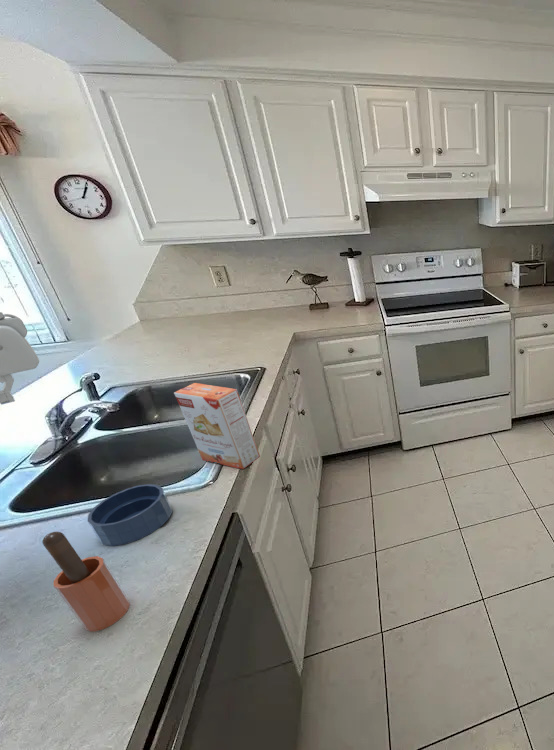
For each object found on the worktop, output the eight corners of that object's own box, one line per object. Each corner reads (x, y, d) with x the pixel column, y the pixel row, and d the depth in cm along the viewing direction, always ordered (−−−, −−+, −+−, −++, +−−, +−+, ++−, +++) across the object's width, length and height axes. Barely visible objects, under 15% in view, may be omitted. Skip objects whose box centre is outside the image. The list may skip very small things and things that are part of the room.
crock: (78, 639, 66) (44, 593, 61) (96, 607, 71) (66, 562, 66) (122, 626, 68) (92, 581, 63) (137, 596, 73) (110, 551, 68)
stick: (96, 622, 68) (35, 542, 58) (102, 610, 70) (44, 530, 60) (113, 618, 69) (56, 538, 59) (118, 606, 70) (63, 526, 60)
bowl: (88, 555, 81) (74, 533, 79) (117, 512, 92) (105, 492, 89) (161, 538, 85) (149, 516, 82) (180, 498, 95) (171, 478, 93)
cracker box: (201, 462, 108) (171, 391, 99) (221, 449, 113) (195, 381, 104) (242, 471, 104) (215, 398, 95) (261, 457, 109) (237, 387, 100)
